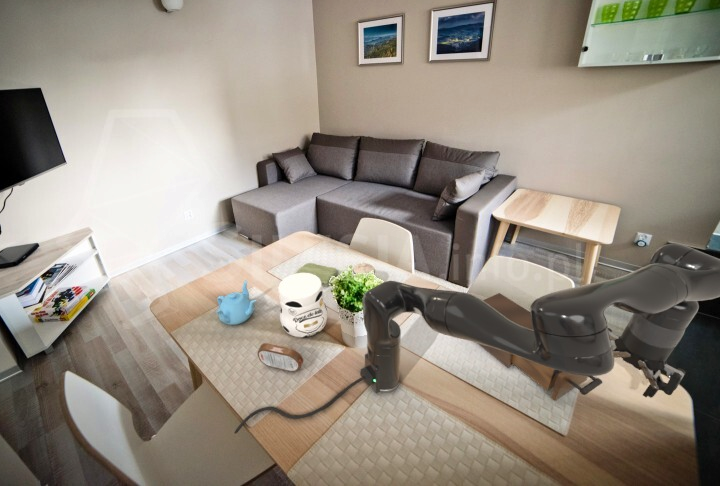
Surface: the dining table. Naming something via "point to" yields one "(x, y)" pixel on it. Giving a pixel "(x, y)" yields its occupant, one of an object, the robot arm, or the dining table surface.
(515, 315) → the wooden storage box
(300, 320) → the milk container
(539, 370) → the drawer
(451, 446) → the dining table surface
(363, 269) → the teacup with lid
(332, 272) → the washcloth
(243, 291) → the teapot
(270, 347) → the tin
